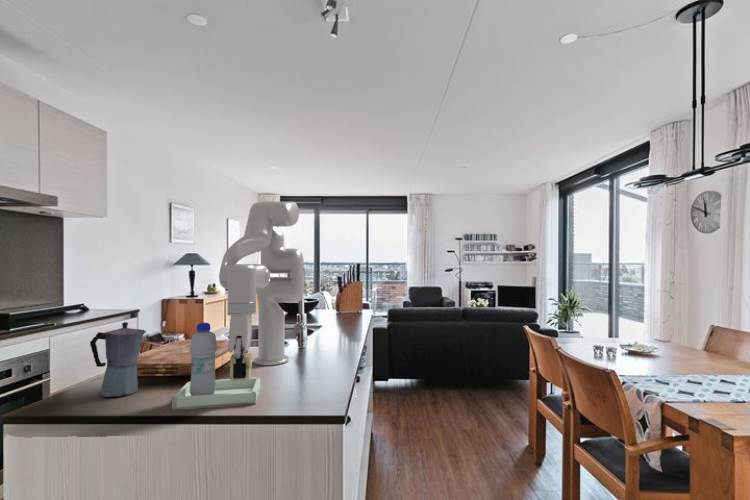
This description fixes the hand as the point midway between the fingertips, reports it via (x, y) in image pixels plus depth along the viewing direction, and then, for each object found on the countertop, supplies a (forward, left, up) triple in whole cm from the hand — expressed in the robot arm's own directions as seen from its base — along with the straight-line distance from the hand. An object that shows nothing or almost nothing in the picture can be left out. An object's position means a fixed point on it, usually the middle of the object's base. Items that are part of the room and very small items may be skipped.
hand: (241, 374), depth 105 cm
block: (0, 0, -1) cm, 1 cm away
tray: (0, -5, -6) cm, 8 cm away
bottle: (0, -10, -6) cm, 11 cm away
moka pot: (-10, -34, -6) cm, 37 cm away
